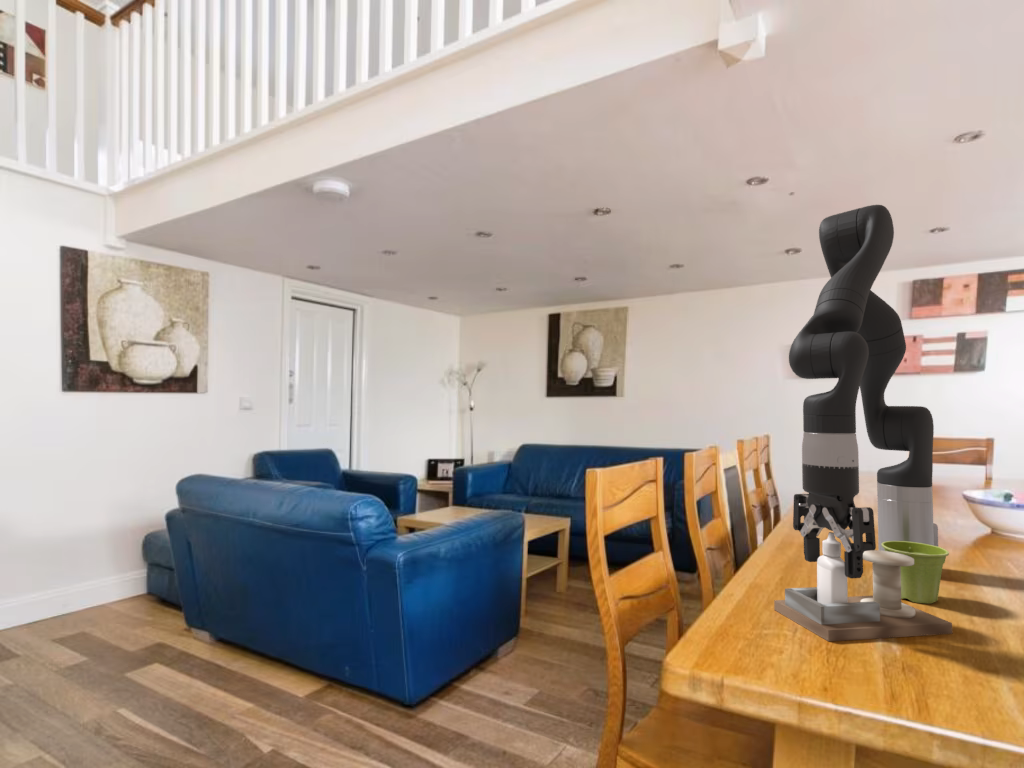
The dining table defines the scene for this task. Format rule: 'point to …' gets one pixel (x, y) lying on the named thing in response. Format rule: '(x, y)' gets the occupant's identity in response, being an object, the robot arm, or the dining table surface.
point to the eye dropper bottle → (831, 573)
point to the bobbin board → (864, 607)
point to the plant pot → (919, 570)
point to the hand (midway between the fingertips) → (831, 568)
